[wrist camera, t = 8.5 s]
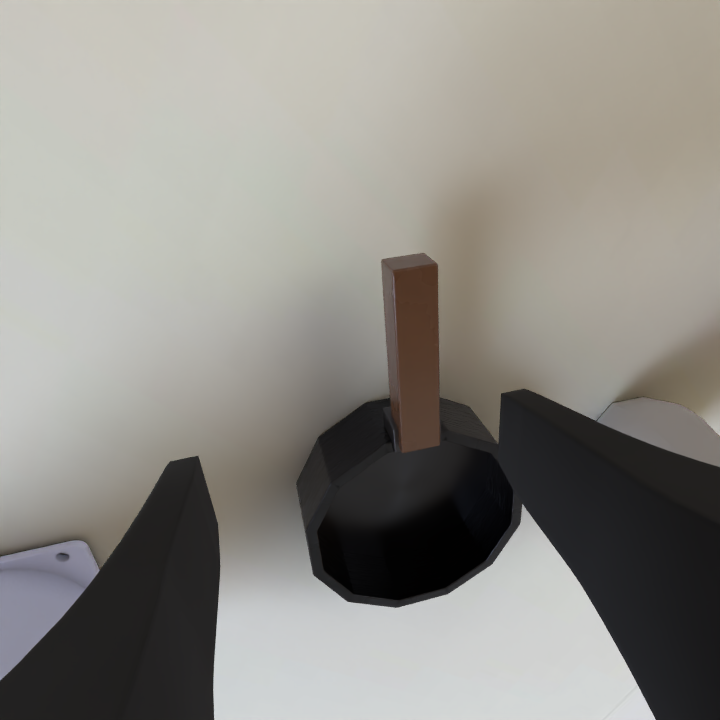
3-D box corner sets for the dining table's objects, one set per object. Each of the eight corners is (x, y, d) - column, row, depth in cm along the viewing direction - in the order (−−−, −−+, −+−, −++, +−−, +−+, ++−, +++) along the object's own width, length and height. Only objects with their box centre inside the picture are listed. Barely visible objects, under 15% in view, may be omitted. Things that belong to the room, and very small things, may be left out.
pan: (488, 530, 29) (522, 586, 26) (312, 574, 28) (325, 639, 24) (503, 221, 21) (555, 245, 18) (255, 257, 20) (261, 291, 16)
